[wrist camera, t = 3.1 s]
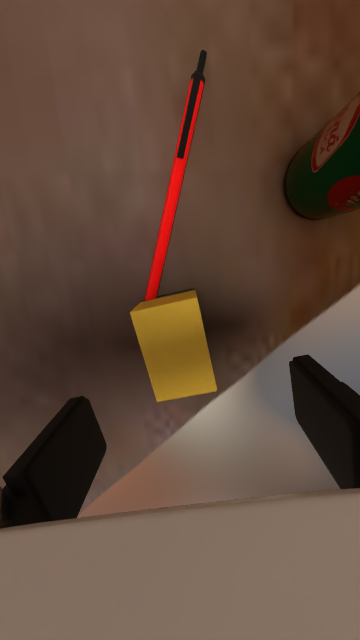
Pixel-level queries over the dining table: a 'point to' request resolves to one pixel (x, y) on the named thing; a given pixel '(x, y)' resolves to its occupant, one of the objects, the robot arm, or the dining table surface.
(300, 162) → the soda can
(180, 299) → the sponge
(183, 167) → the pen
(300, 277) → the dining table surface
